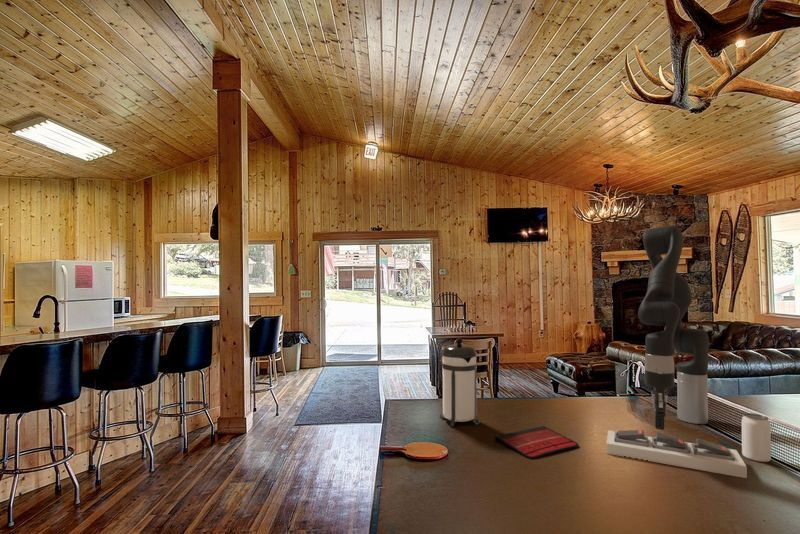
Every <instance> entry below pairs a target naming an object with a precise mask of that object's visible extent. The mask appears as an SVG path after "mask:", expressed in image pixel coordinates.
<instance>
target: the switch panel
mask: <svg viewBox="0 0 800 534" xmlns="http://www.w3.org/2000/svg"><path fill="white" fill-rule="evenodd" d="M684 443H685V446H686V447H685V449H680V448H677V447H674V446H671V445H668V444H665V443H662V442H659V441H656V436H654V437H653V436H647V435H645V439H619V438H618V431H614V430H609V429H608V430H607V437H606V454H608V455H613V456H620V457H624V456H626V457H625V458H629V457H631V458H630V459H635V458H638V459H637V460H641V459H643V460H642V461H646V460H648V462H651V463H652V462H654V463H659V464H665V465H669V466H676V467H679V468H680V467H681V468H687V469H692V470H698V471H704V472H709V473H715V474H721V475H727V476H733V477H738V478H743V479H747V478H748V474H747V473H748V470H747V467H748V466H747V465H746V463H745V462H744V460H743V459H742V456H740V453H739V452H738V450H737V449H733V448H727V450H728V451H729V456H723V455H720V454H717V453H714V452H711V451H708V450H705V449H702V448H699V447H698V446H697V444H696V443H692V442H686V441H684Z"/></svg>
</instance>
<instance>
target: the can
mask: <svg viewBox="0 0 800 534" xmlns="http://www.w3.org/2000/svg"><path fill="white" fill-rule="evenodd" d="M771 431H772V430H771V423H770V421H769V417H768V416H765V415H762V414H758V413H750V412H744V413H743V415H742V417H741V455H742V456H743V457H744V458H745V459H748V460H751V461H754V462H760V463H768V462H770V461H771V459H772V451H771V449H772V447H771V446H772V445H771V443H772V442H771V439H772V438H771Z"/></svg>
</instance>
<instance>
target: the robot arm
mask: <svg viewBox="0 0 800 534" xmlns="http://www.w3.org/2000/svg"><path fill="white" fill-rule="evenodd" d="M642 242H643V243H642V244H643V247H644V250H645V252H646V255H647V257H648V261H649V263H650V266H651V269H652V270H651V272H650V274H649V276H648V280H647V281H648V283H647V291H646V294H645V296H644V298H643V299H642V301H641V303H640V306H639V307H638V311H637V316H638V319H639V321H640V322H641V323H642V324H643V325H647V326H662V327H663V326H664V327H665V329H664V330H662V331H660V332H651V333H648V334H646V336H645V356H644V384H645V385H646V386H648V387H654V389H651V392H650V393H651V397H652V407H653V410H654V411H653V414H654V422H655V423H654V426H655V429H657V430H662V431H663V430H665V418H666V416H667V414H666V412H667V411H666V410H667V408H668V407H667V405H668V403H667V401H668V399H669V396H668V391H665V389H672V388H674V387H675V358H674V351H675V352H677V353H680V354H688V355H693V358H692V359H690V360H688V361H682V362H678V363H677V365H676V387H677V388H676V389H677V390H676V391H677V392H676V394H677V395H676V396H677V397H676V398H677V399H676V400H677V402H676V403H677V406H676V407H677V412H676V413H677V416H676V417H677V419H679V420H680V421H682V422H686V423H690V424H696V425H699V424H700V425H704V424H708V423H709V394H708V393H709V392H708V390H709V389H708V385H709V384H708V368H709V348H710V338H709V334H708V332H707V331H706V330H704V329H699V328H690V327H684V326H683V325H682V319H684V318H683V317H684V316H685V314H686V312H687V311H688V309H689V308H690V307H691V304H692V302H693V300H692V299H693V297H692V292H691V288H690V286H689V283H688V281H687V279H686V278H685V277H684V276H682V275H681V274H680V273H679V272H678V271H677V269H678V266H679V263H680V260H681V256H682V251H683V248H684V246H683V245H684V238H683V233H682V231H681V229H680V227H679V226H677V225H667V226H666V225H665V226H660V227H655V228H649V229H648V228H647V229H645V231H643V233H642ZM662 255H665V256H664V257H662Z"/></svg>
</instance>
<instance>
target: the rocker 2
mask: <svg viewBox="0 0 800 534" xmlns="http://www.w3.org/2000/svg"><path fill="white" fill-rule="evenodd" d="M655 438H656V441H659V442H662V443H665V444H668V445H671V446H674V447H677V448H680V449H685V447H686V446H685V443H684V442H685V440H682V439H679V438H678V437H677V438H676V437H673V436H670V435H667V434H664V433H661V432H658V431H655Z"/></svg>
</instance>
